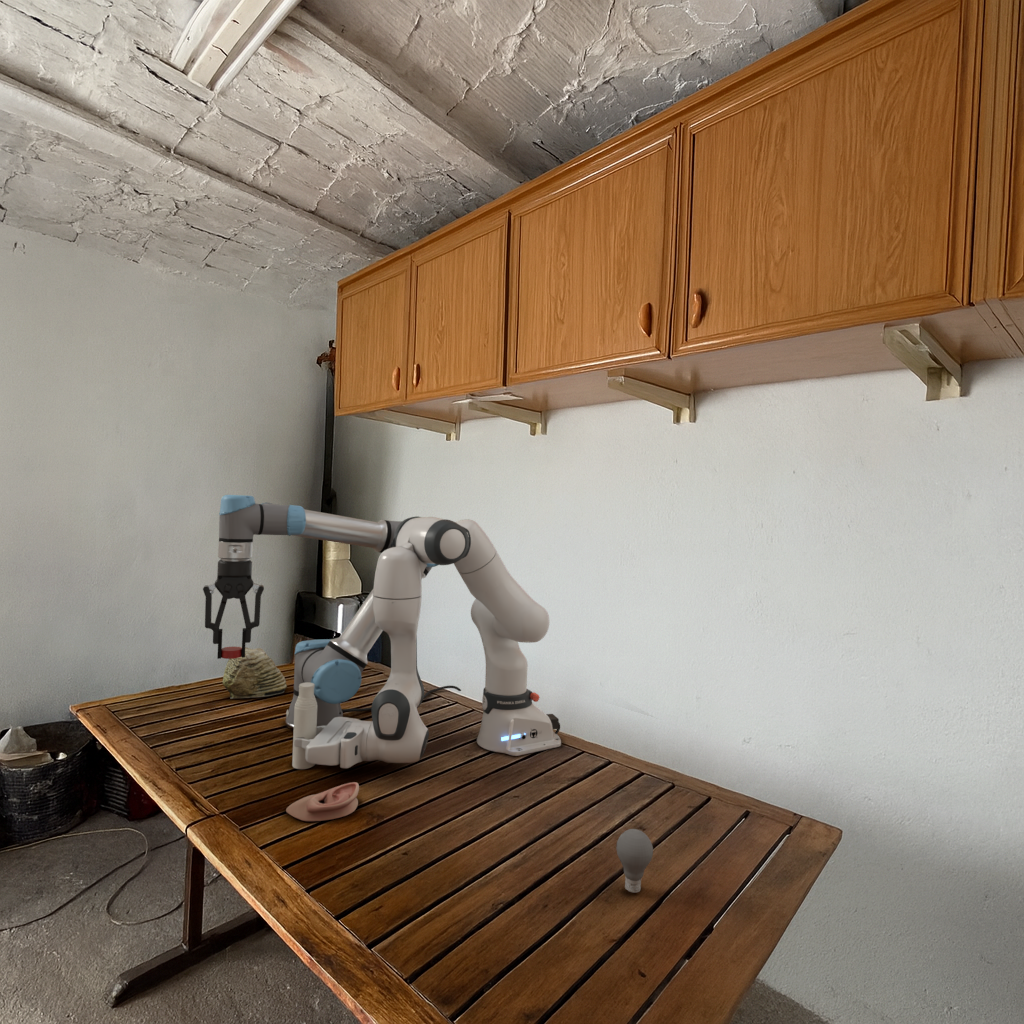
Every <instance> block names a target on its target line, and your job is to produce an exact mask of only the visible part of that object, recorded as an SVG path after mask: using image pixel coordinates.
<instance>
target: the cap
mask: <svg viewBox="0 0 1024 1024" xmlns="http://www.w3.org/2000/svg"><path fill="white" fill-rule="evenodd" d="M241 647H242V646H226V647H222V649H221V659H224V660H225V659H226V660H229V659H234V658H239V657H241V656H242V648H241Z"/></svg>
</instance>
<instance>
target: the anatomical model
mask: <svg viewBox="0 0 1024 1024" xmlns="http://www.w3.org/2000/svg"><path fill="white" fill-rule="evenodd" d="M359 792H360V785H359V783H358V782H355V781H352V782H347V783H344V784H341V785H338V786H335V787H332V788H329V789H327V790H324V791H321V792H319V793H316V794H311V795H307V796H304V797H302V798H300V799H298V800H296V801H294V802H293V803H291V804H289V806H287V807H286V809H285V812H286V813H287V814H288V815H289V816H291V817H293V818H295V819H297V820H300V821H303V822H321V821H329V820H334V819H339V818H342V817H346V816H348V815H351V814H353V812H355V811H356V809H357V808H358V805H359V799H358V798H357V796H358V795H359Z"/></svg>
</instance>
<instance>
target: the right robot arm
mask: <svg viewBox="0 0 1024 1024" xmlns="http://www.w3.org/2000/svg"><path fill="white" fill-rule="evenodd" d="M392 546H393V547H392ZM428 563H431V564H437V565H438V566H450V565H454V567H455V569H456V571H457V572H458V574H459V576H460V577H461V579H462V581H463V582H464V584H465V586H466V587H467V590H468V591H469V593H470V594H471V595H472V596H473V597H474V598H475V599H474V601H473V602H472V604H471V608H470V617H471V620H472V622H473V624H474V625H475V627H476V629H477V631H478V634H479V637H480V639H481V644H482V647H483V651H484V659H485V675H484V677H485V678H484V679H485V680H484V682H485V683H484V688H483V691H482V692H483V693H482V699H481V701H482V702H481V705H482V717H481V723H480V728H479V731H478V735H477V737H476V744H477V745H478V746H479V747H481V748H482V749H484V750H487V751H490V752H496V753H501V754H505V755H509V756H513V757H517V756H518V757H519V756H523V755H527V754H533V753H537V752H542V751H545V750H551V749H554V748H559V747H561V746H562V740H561V737H560V736H559V732H560V730H561V724H560V722H559V718H558V717H557V716H556V715H555V714H554V713H545V712H544V711H543V710H541V708H539V707H538V706H537V705H535V704H534V703H537V702H539V700H540V699H541V697H540V695H539V694H538V693H536V692H535V691H531V690H530V689H528V688H527V687H528V669H529V668H528V667H529V666H528V665H529V664H528V660H527V658H526V656H525V654H524V653H523V651H522V650H521V647H520V645H519V643H523V644H524V643H526V644H527V643H529V644H531V643H538V642H540V641H541V640H543V639H544V638H545V637H546V635H547V633H548V632H549V628H550V615H549V612H548V610H547V609H546V608H545V607H544V606H542V605H541V604H540V603H539V602H537V601H535V599H533V597H531V596H530V595H529V593H527V591H526V590H525V589H524V588H523V587H522V586H521V585H520V584H519V582H518V581H517V579H515V578H514V577H513V576H512V574H511V573H510V571H509V570H508V569H507V567H506V565H505V563H504V561H503V559H502V558H501V556H500V554H499V552H498V551H497V549H496V547H495V545H494V544H493V542H492V541H491V539H490V537H489V536H488V535H487V533H486V532H485V530H484V529H483V528H482V527H481V525H479V523H478V522H476V520H473V519H470V518H468V519H467V518H464V519H460V520H457V521H454V520H451V519H447V518H446V519H444V518H442V517H441V518H440V517H436V516H411V517H408V518H405V519H403V520H402V522H401V523H400V524H399V525H398V527H397V529H396V531H395V533H394V537H393V540H392V542H391V548H389V549H387V550H385V551H383V552H382V553H380V554H379V557H378V559H377V562H376V567H375V573H374V580H373V588H374V590H373V589H372V590H373V610H374V617H375V622H376V624H377V625H378V626H379V627H380V628H381V629H382V630H383V631H382V632H385V633H386V634H387V635H388V637H389V640H390V673H389V676H388V678H387V680H386V682H385V683H384V685H383V686H382V688H381V689H379V691H378V692H377V694H376V695H375V697H373V700H372V704H371V707H372V708H371V707H370V708H371V710H370V711H371V719H372V720H361V719H359V718H354V717H347V716H343V717H335V718H333V719H332V720H331V721H330V723H329V724H328V725H327V726H324V725H323V726H318V727H317V730H316V737H315V738H314V739H310V740H307V739H304V737H298V738H296V739H295V742H294V745H295V747H302V748H304V749H306V753H305V760H306V761H307V762H309V763H312V764H315V765H321V766H338V765H339V767H340V768H341V769H349V768H351V767H353V766H354V765H356V764H359V763H362V762H374V761H381V762H384V763H389V764H411V763H416V762H419V761H420V760H421V759H422V758H423V757H424V755H425V753H426V749H427V746H428V743H429V737H430V731H429V728H428V727H427V726H426V725H425V724H424V721H423V720H422V718H421V716H420V714H419V711H418V708H419V707H420V706H421V704H422V702H424V701H423V700H424V699H425V698H424V695H425V687H424V683H423V681H422V678H421V677H420V673H419V670H418V635H417V634H418V629H419V623H420V617H421V608H422V595H423V594H422V588H423V587H422V579H423V578H422V575H423V572H424V570H425V568H426V566H427V564H428ZM423 698H424V699H423ZM533 702H534V703H533ZM554 730H555V731H554Z"/></svg>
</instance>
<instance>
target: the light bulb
mask: <svg viewBox="0 0 1024 1024" xmlns="http://www.w3.org/2000/svg"><path fill="white" fill-rule="evenodd" d="M615 849H616V854H617V857H618V859H619V861H620V863H621V865H622V867H623V873H624V874H623V875H624V876H625V878H624V888H625V890H627V891H628V892H630V893H634V894H635V893H639V892H640V891H641V889H642V887H641V886H642V879H643V877H644V875H645V871H646V868H647V867H648V866H649V864H650V863H651V861H652V859H653V855H654V847H653V843H652V841H651V838H649V836H648V835H647V834H646V833H645V832H643V831H642V830H641V829H636V828H629V829H627V830H625V831H623V832H622V833H621V834H620V835H619V837H618V839H617V841H616V847H615Z"/></svg>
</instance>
